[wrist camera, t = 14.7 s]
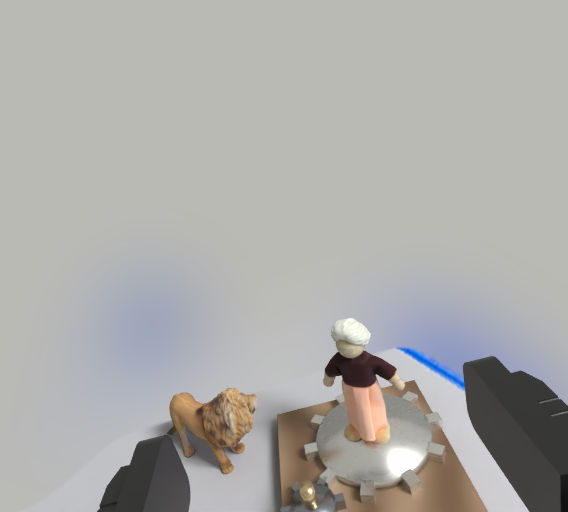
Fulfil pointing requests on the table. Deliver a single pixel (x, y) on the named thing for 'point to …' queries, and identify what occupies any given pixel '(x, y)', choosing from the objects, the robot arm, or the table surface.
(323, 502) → the gear
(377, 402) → the grandmother figurine
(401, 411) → the gear
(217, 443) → the lion figurine
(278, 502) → the table surface
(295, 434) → the gear board
